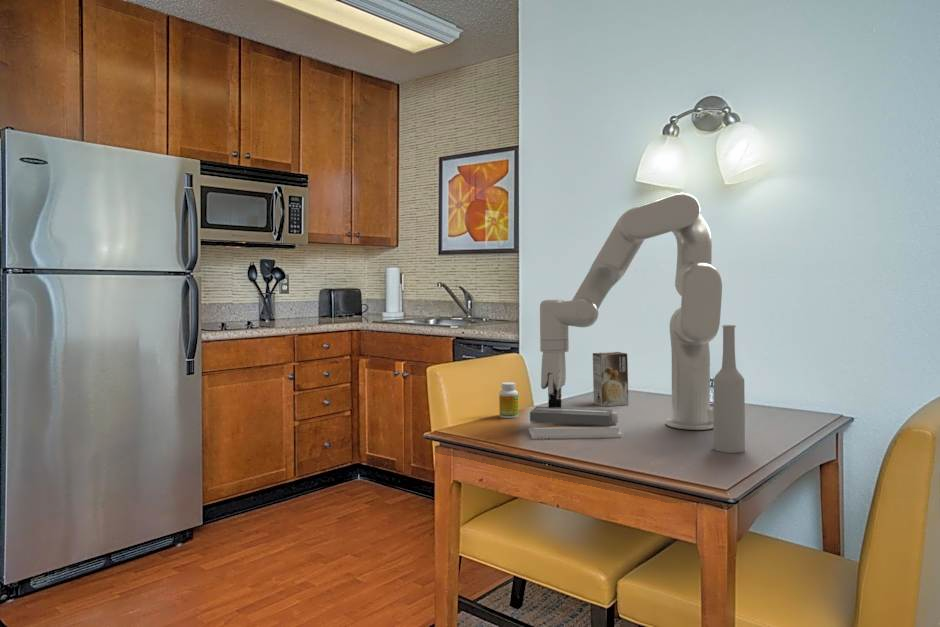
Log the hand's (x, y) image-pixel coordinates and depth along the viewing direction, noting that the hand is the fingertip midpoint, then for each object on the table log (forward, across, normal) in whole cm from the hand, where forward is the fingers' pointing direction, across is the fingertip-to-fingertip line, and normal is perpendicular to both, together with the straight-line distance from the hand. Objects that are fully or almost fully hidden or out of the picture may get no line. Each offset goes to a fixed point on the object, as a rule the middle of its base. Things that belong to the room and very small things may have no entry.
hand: (555, 413), depth 175 cm
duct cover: (0, +6, +6) cm, 9 cm away
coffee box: (+3, -34, +10) cm, 36 cm away
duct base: (+3, +9, +7) cm, 12 cm away
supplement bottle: (+3, -7, -15) cm, 17 cm away
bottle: (+3, +15, +43) cm, 46 cm away
